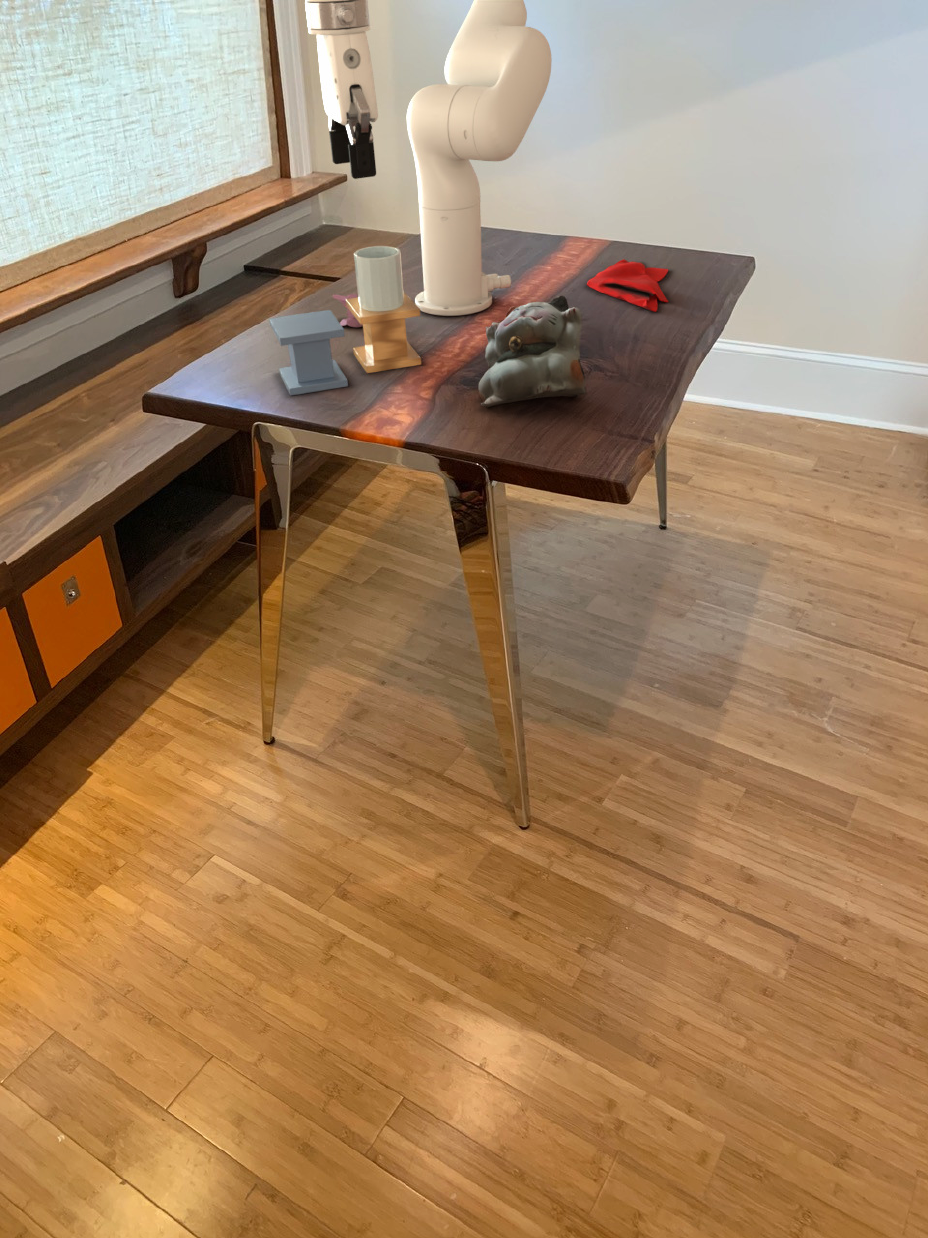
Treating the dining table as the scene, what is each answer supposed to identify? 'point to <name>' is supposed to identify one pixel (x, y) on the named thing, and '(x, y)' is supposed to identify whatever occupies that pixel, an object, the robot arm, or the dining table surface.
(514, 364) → the lucky cat figurine
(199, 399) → the dining table surface
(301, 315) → the blue stand
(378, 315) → the maple stand
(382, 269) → the container
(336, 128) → the robot arm
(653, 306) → the cloth
